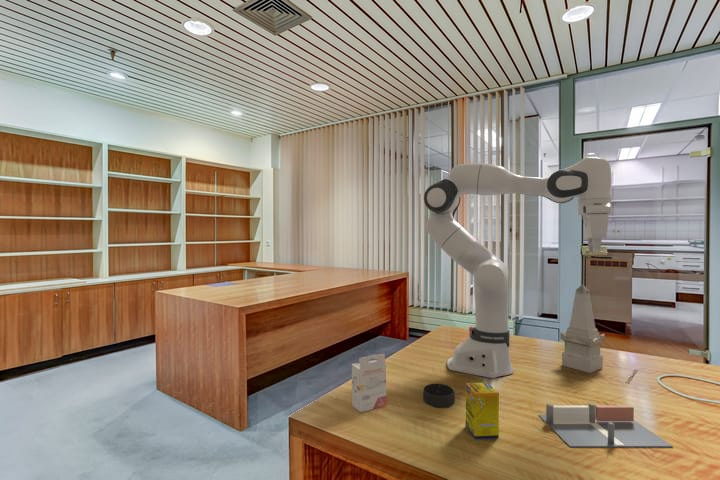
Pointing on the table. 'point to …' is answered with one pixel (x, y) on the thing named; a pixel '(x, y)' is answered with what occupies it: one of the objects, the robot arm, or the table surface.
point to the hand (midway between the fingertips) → (594, 252)
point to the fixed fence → (575, 416)
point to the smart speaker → (438, 395)
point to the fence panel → (614, 413)
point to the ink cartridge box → (369, 383)
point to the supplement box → (482, 410)
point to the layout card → (606, 434)
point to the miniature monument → (582, 336)
